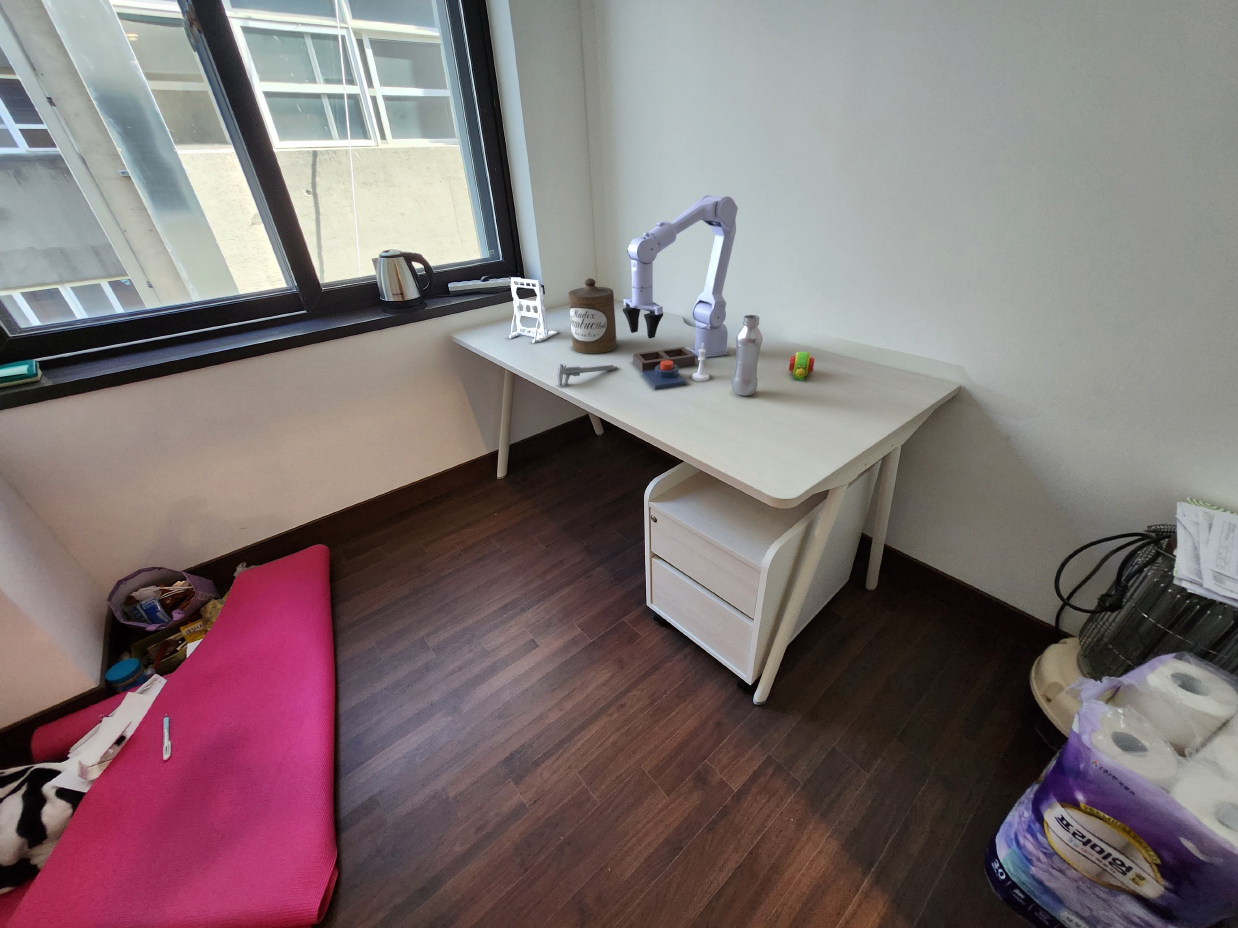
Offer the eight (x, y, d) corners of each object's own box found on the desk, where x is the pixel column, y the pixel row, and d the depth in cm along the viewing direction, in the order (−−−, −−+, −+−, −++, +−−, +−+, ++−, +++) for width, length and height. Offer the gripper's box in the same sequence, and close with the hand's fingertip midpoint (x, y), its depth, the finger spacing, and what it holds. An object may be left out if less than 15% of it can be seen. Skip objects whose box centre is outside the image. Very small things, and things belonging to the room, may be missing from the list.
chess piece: (710, 375, 138) (713, 341, 133) (707, 381, 134) (710, 346, 129) (693, 373, 140) (695, 339, 134) (690, 380, 136) (691, 345, 130)
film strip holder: (561, 332, 178) (555, 276, 168) (536, 343, 168) (528, 284, 158) (531, 328, 185) (524, 273, 174) (506, 338, 175) (497, 280, 165)
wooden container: (565, 351, 160) (558, 282, 148) (584, 338, 172) (579, 273, 160) (606, 356, 155) (602, 284, 143) (623, 342, 167) (620, 275, 155)
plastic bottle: (742, 400, 123) (750, 322, 112) (725, 391, 128) (732, 316, 117) (761, 395, 125) (771, 318, 115) (744, 386, 130) (752, 312, 120)
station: (672, 371, 142) (672, 361, 140) (686, 385, 133) (687, 374, 131) (642, 375, 140) (642, 365, 138) (654, 389, 131) (655, 379, 129)
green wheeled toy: (786, 381, 132) (790, 358, 129) (790, 357, 148) (794, 336, 144) (811, 384, 130) (815, 360, 127) (812, 359, 146) (816, 338, 142)
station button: (670, 366, 138) (670, 359, 137) (675, 370, 135) (675, 363, 134) (658, 367, 138) (658, 361, 137) (662, 372, 135) (663, 365, 134)
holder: (683, 355, 153) (683, 346, 151) (695, 365, 145) (695, 356, 144) (633, 362, 149) (632, 353, 147) (642, 373, 142) (642, 363, 140)
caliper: (560, 387, 135) (558, 365, 131) (558, 386, 135) (556, 364, 132) (617, 368, 145) (616, 348, 142) (614, 367, 146) (614, 347, 143)
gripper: (614, 284, 135) (616, 332, 142) (649, 292, 125) (649, 343, 132) (633, 280, 139) (634, 327, 146) (668, 288, 129) (667, 338, 136)
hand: (642, 335), depth 139 cm, fingers open, 7 cm apart
